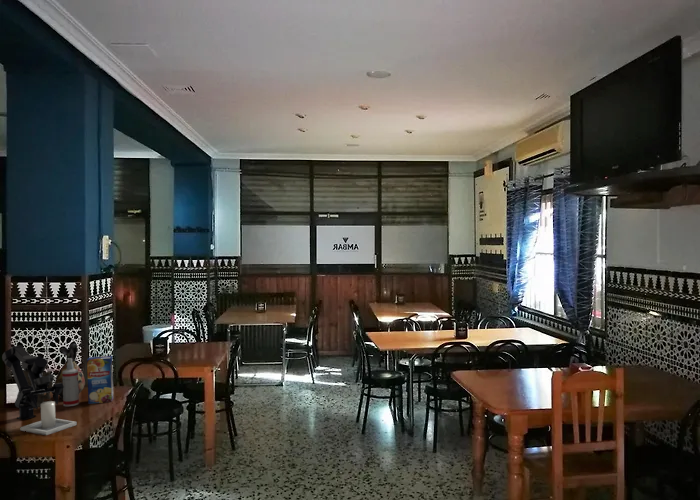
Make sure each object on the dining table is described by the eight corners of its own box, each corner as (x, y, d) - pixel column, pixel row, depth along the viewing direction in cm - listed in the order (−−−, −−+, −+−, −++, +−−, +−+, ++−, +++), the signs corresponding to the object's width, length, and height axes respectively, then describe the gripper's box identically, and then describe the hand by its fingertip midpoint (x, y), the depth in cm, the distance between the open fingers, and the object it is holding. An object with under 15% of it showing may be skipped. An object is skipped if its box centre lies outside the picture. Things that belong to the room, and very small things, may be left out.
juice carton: (88, 403, 320) (86, 359, 320) (90, 400, 327) (89, 357, 327) (111, 401, 323) (110, 358, 323) (113, 398, 330) (112, 355, 330)
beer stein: (17, 409, 312) (19, 371, 312) (23, 404, 322) (24, 367, 322) (49, 408, 316) (51, 371, 316) (54, 403, 326) (55, 367, 327)
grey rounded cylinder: (41, 425, 280) (40, 402, 279) (55, 423, 283) (54, 400, 282) (42, 429, 274) (41, 405, 274) (56, 426, 278) (55, 403, 277)
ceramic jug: (77, 400, 327) (75, 346, 327) (49, 401, 327) (48, 347, 327) (91, 393, 344) (89, 341, 344) (65, 393, 344) (63, 342, 344)
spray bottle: (60, 405, 319) (59, 358, 318) (73, 401, 325) (72, 356, 325) (68, 407, 314) (67, 360, 314) (81, 403, 321) (80, 357, 320)
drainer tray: (20, 430, 275) (20, 427, 275) (51, 420, 290) (51, 417, 290) (46, 435, 267) (46, 431, 267) (76, 425, 282) (76, 421, 282)
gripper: (20, 373, 275) (30, 400, 268) (61, 366, 289) (72, 392, 282) (14, 387, 280) (24, 414, 273) (55, 379, 295) (65, 405, 287)
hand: (47, 406), depth 279 cm, fingers open, 9 cm apart
